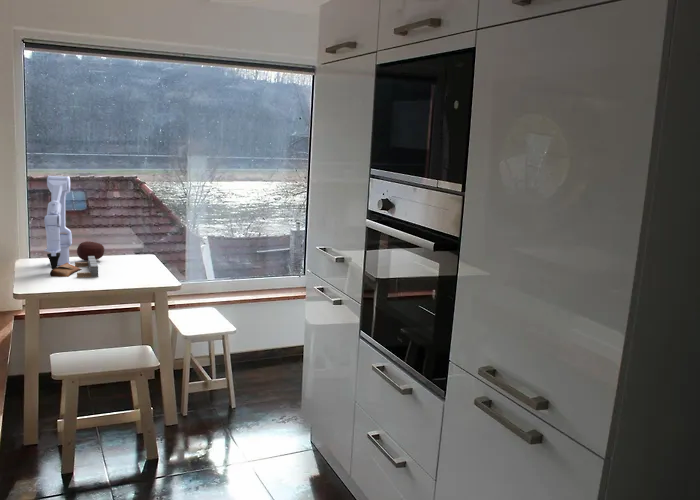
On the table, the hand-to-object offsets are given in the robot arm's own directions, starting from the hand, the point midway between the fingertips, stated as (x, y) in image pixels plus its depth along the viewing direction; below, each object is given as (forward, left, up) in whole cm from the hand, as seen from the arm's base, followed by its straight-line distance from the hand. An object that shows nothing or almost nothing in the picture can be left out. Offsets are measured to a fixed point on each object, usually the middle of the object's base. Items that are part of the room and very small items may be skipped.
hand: (54, 268), depth 296 cm
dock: (0, +14, -2) cm, 14 cm away
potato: (-26, +17, -2) cm, 31 cm away
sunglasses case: (+1, +5, -3) cm, 6 cm away
